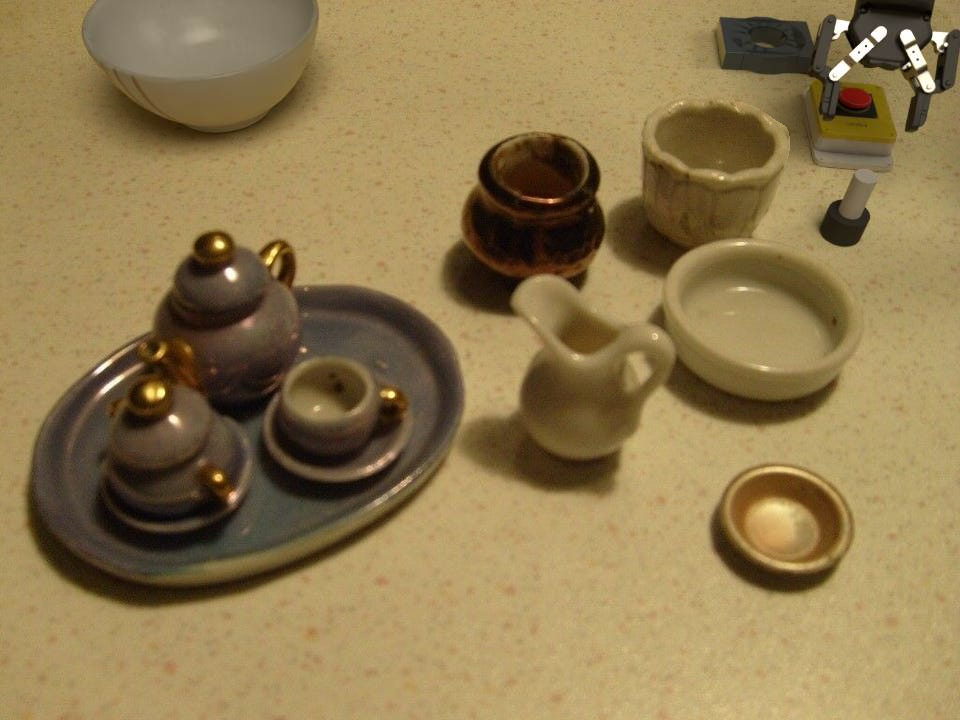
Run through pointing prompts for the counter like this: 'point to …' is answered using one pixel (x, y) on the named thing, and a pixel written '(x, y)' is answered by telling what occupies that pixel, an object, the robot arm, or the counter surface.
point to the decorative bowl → (203, 55)
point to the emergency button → (851, 128)
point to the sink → (746, 55)
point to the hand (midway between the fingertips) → (869, 125)
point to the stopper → (850, 211)
